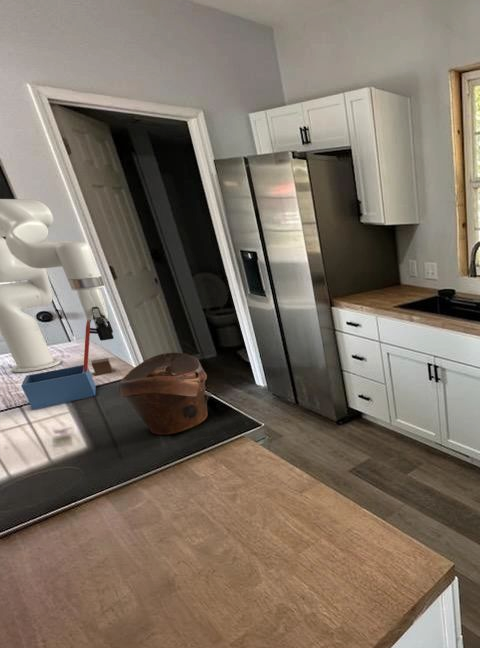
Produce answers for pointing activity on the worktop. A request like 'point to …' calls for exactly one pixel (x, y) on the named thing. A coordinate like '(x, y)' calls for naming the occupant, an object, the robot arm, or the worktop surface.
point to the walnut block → (102, 366)
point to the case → (167, 392)
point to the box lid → (87, 344)
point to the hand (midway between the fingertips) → (107, 336)
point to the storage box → (58, 386)
